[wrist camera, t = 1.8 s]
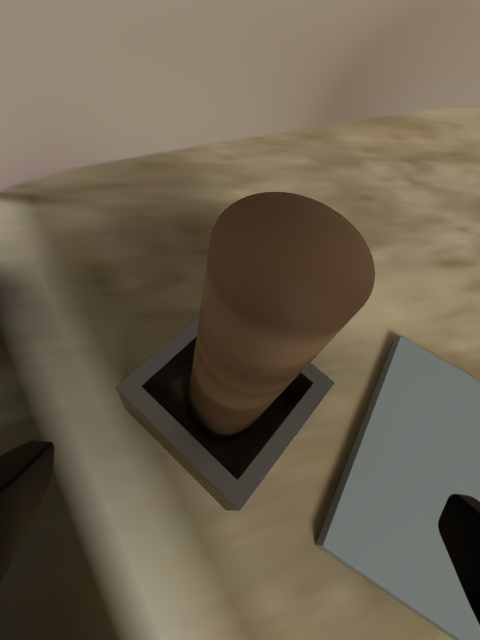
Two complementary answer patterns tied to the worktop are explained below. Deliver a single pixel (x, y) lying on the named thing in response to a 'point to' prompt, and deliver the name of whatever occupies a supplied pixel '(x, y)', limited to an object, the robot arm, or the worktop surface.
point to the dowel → (270, 304)
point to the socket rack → (217, 480)
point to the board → (410, 486)
